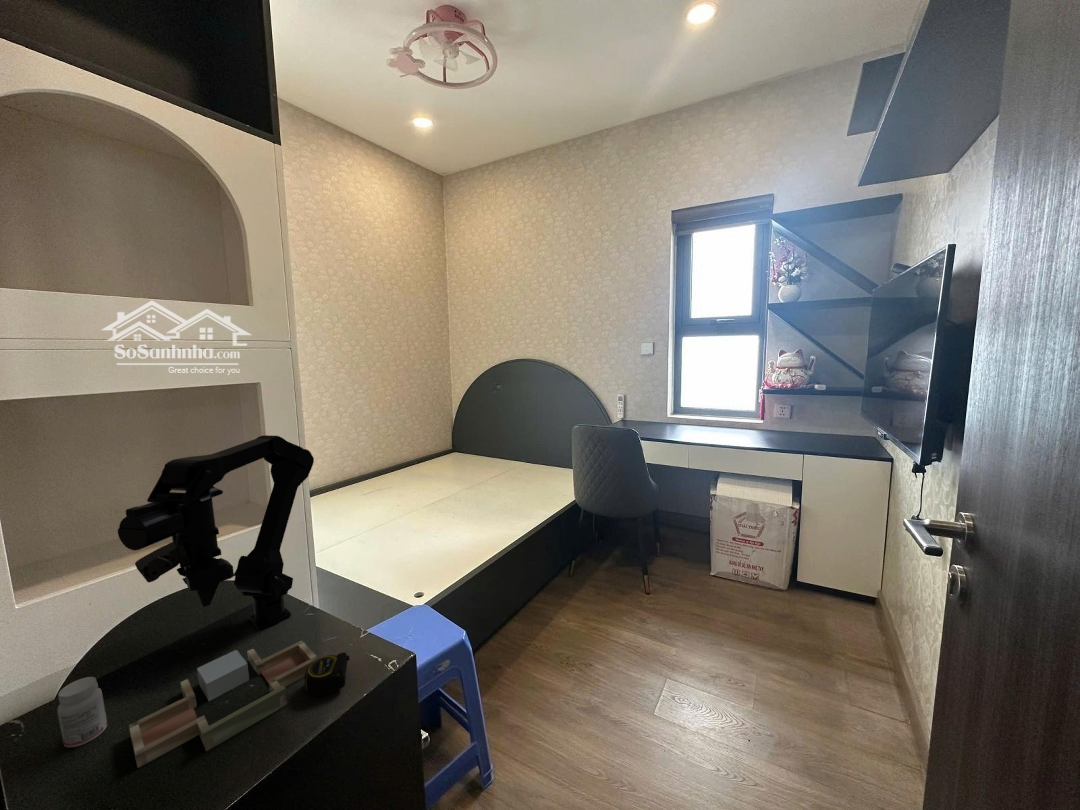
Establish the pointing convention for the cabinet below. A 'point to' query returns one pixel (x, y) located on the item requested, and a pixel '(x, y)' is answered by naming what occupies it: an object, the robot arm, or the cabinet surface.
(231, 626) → the cabinet surface
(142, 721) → the box
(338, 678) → the tape measure
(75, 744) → the pill bottle
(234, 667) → the block
